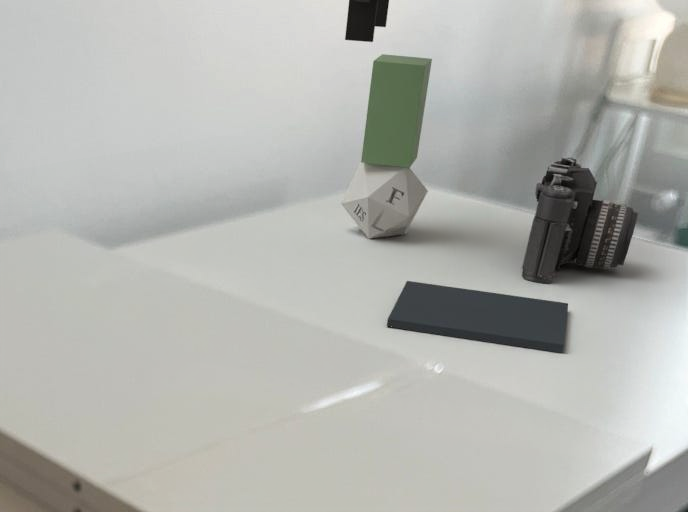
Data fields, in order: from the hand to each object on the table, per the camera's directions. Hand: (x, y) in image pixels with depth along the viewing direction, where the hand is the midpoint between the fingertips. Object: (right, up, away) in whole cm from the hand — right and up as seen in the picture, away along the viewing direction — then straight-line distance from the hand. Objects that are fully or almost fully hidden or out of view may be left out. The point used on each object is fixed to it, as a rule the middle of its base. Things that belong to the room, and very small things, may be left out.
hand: (366, 33), depth 107 cm
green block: (+4, -9, +10) cm, 14 cm away
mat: (+10, -32, -8) cm, 35 cm away
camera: (+24, -22, +7) cm, 33 cm away
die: (+4, -15, +14) cm, 21 cm away
